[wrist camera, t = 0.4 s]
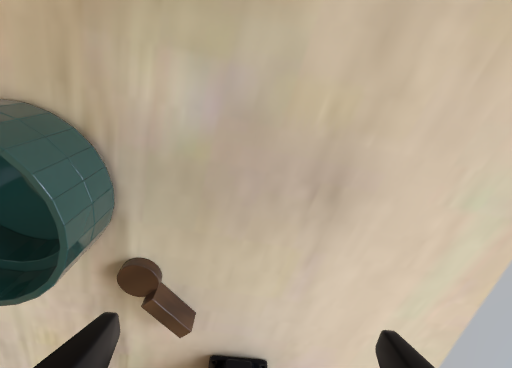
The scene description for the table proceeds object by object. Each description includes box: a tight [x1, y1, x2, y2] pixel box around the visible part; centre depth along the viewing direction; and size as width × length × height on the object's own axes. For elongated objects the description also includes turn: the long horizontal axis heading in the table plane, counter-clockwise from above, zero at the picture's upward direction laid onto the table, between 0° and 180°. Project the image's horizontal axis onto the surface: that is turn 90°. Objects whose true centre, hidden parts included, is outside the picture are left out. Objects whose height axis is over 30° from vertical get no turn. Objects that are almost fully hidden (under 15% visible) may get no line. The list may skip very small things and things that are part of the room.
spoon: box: [117, 258, 196, 338], centre depth 25 cm, size 9×4×2 cm, turn 37°
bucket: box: [0, 99, 114, 306], centre depth 19 cm, size 13×13×6 cm
